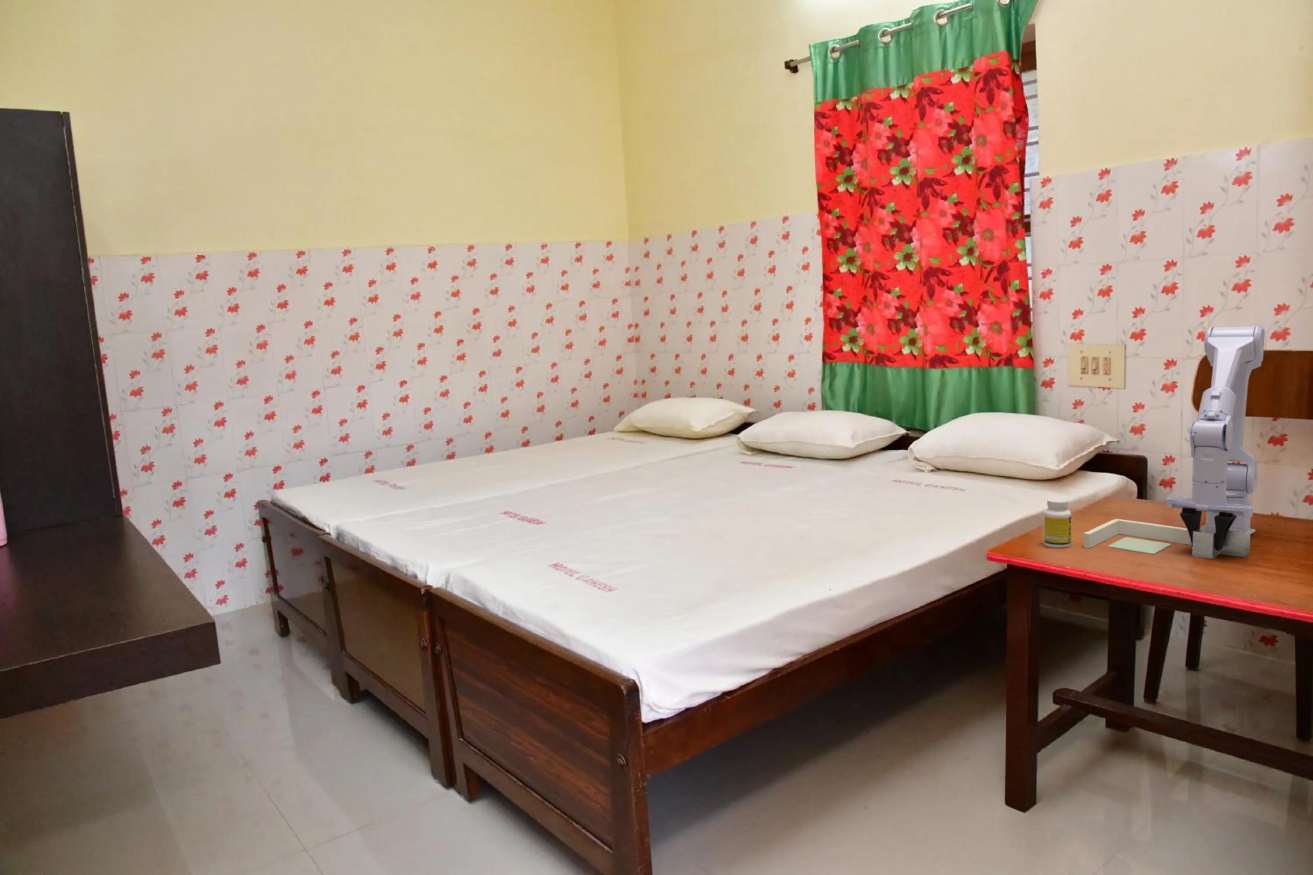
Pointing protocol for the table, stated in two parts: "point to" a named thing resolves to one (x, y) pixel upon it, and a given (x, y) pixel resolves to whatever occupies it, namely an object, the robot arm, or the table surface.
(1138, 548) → the mat
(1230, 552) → the bracket
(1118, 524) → the arena
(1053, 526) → the supplement bottle
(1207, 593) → the table surface
